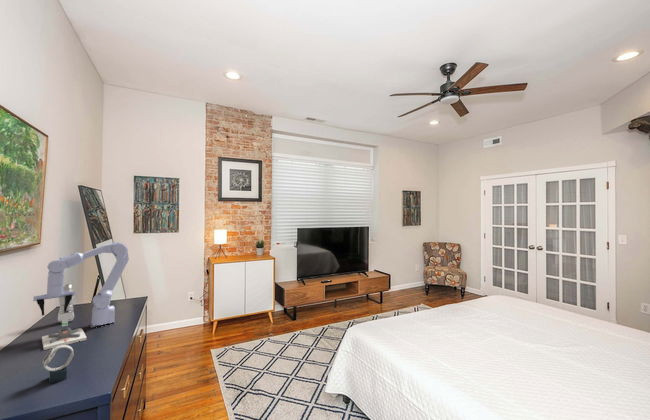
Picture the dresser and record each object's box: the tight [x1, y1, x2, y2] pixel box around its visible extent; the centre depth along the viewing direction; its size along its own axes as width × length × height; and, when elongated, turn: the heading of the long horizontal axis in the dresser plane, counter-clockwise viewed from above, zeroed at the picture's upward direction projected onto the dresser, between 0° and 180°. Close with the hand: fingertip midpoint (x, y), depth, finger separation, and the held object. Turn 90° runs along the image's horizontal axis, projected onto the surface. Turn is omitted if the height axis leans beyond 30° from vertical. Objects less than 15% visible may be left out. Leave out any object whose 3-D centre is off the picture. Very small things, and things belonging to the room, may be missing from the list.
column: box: [57, 310, 72, 327], centre depth 129 cm, size 4×4×6 cm
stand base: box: [41, 327, 88, 351], centre depth 129 cm, size 14×16×4 cm
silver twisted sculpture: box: [57, 283, 76, 324], centre depth 151 cm, size 6×7×20 cm
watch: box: [41, 344, 75, 385], centre depth 98 cm, size 6×8×11 cm
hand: (54, 313), depth 134 cm, fingers open, 7 cm apart
